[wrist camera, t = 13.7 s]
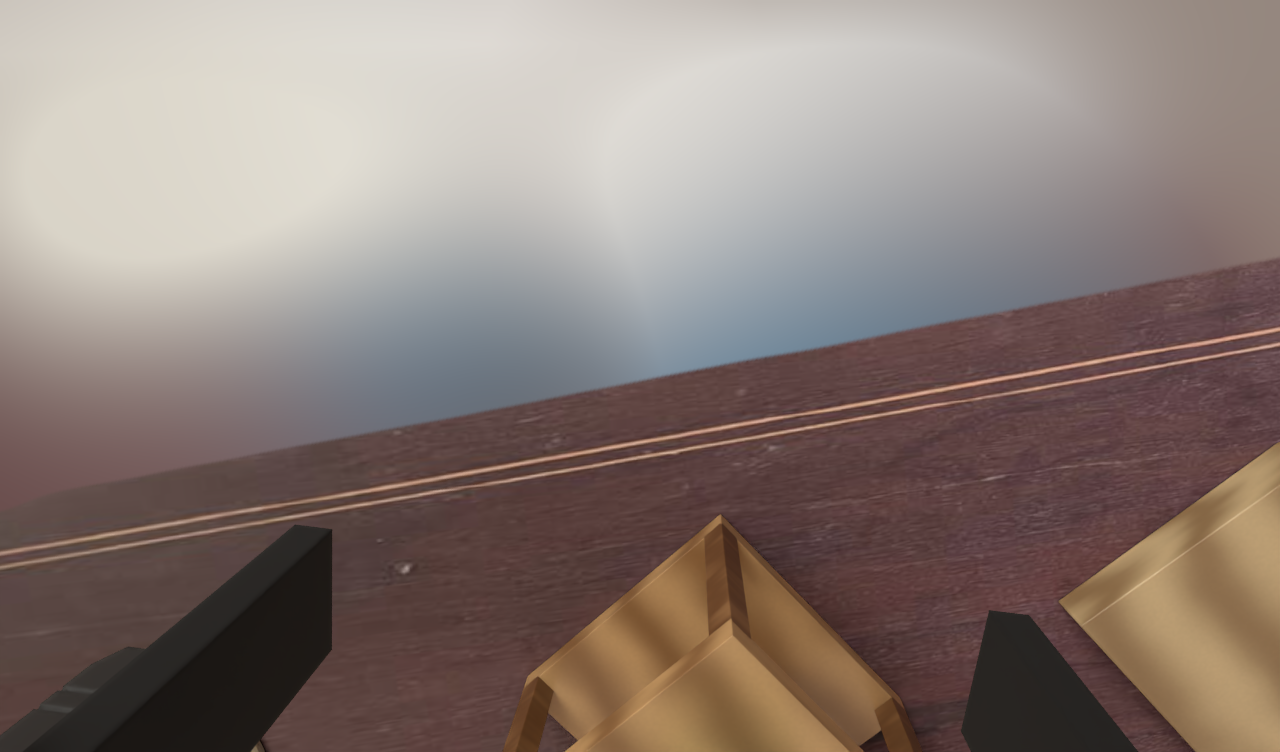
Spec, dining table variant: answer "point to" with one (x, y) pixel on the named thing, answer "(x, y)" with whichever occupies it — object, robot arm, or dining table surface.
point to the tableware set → (258, 748)
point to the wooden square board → (1201, 614)
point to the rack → (710, 668)
